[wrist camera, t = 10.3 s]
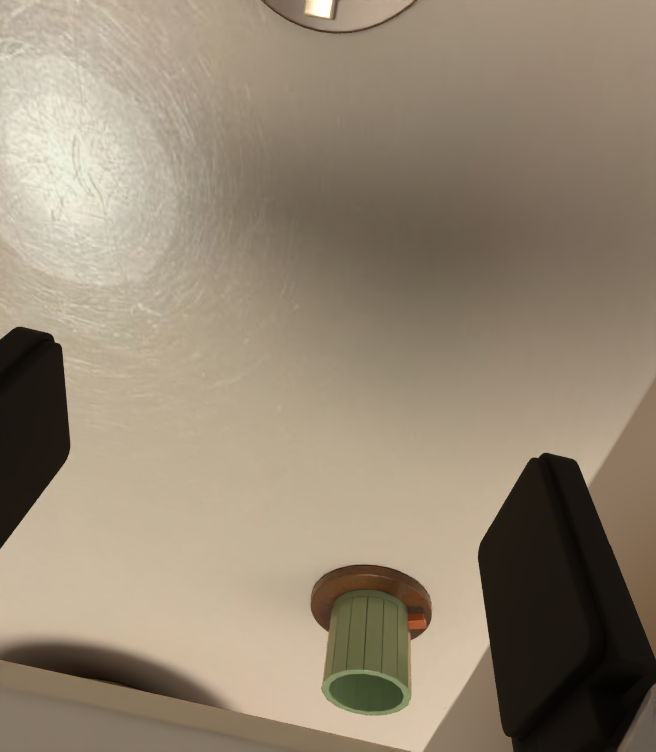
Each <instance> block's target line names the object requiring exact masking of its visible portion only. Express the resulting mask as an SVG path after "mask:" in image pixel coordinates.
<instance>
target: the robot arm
mask: <svg viewBox="0 0 656 752" xmlns="http://www.w3.org/2000/svg"><path fill="white" fill-rule="evenodd" d="M69 451H70V435H69V423H68V412H67V400H66V389H65V377H64V365H63V354H62V347H61V345H60V344H58V343H55V341H54V338H53V336H52V335H51V334H49V333H45V332H41V331H37V330H33V329H29V328H25V327H16V328H14V329H13V330H12V331H10V332H9V333H8V334H7V335H5V336H4V337H3V338H2V339H0V549H1V547H2V546H3V545H4V543H5V542H6V541H7V539H8V538H9V537H10V535H11V534H12V533H13V531H14V530H15V529H16V527H17V526H18V525H19V523H20V522H21V521H22V519H23V518H24V516H25V515H26V514H27V512H28V511H29V510H30V508H31V507H32V506H33V504H34V503H35V502H36V500H37V499H38V498H39V496H40V495H41V494H42V492H43V491H44V490H45V488H46V487H47V486H48V484H49V483H50V482H51V480H52V479H53V478H54V476H55V475H56V474H57V472H58V471H59V470H60V468H61V467H62V466H63V464H64V463H65V461H66V459H67V457H68V455H69ZM478 562H479V569H480V576H481V583H482V590H483V597H484V604H485V611H486V618H487V625H488V632H489V639H490V646H491V653H492V660H493V668H494V674H495V682H496V688H497V695H498V702H499V710H500V717H501V723H502V728H503V731H504V733H505V734H506V736H508V737H511V738H512V744H513V750H514V752H656V659H655V657H654V654H653V652H652V649H651V647H650V644H649V642H648V639H647V637H646V634H645V631H644V629H643V626H642V624H641V622H640V619H639V617H638V614H637V611H636V609H635V606H634V604H633V601H632V599H631V596H630V593H629V591H628V588H627V586H626V583H625V581H624V578H623V576H622V573H621V571H620V568H619V566H618V563H617V560H616V558H615V555H614V554H613V550H612V548H611V546H610V544H609V542H608V539H607V536H606V534H605V532H604V529H603V526H602V524H601V521H600V519H599V516H598V514H597V511H596V509H595V506H594V504H593V501H592V499H591V496H590V493H589V491H588V488H587V486H586V483H585V481H584V478H583V475H582V473H581V470H580V468H579V465H578V464H577V462H576V461H575V460H573V459H570V458H566V457H562V456H558V455H554V454H549V453H543V454H542V455H540V457H539V458H532V459H530V460H529V462H528V463H527V465H526V467H525V468H524V470H523V472H522V473H521V475H520V477H519V478H518V480H517V482H516V484H515V485H514V487H513V489H512V490H511V492H510V494H509V495H508V497H507V499H506V500H505V502H504V504H503V506H502V507H501V509H500V511H499V512H498V514H497V516H496V517H495V519H494V521H493V522H492V524H491V526H490V527H489V529H488V531H487V533H486V534H485V536H484V538H483V539H482V541H481V543H480V546H479V551H478ZM0 752H411V751H406V750H402V749H398V748H393V747H389V746H384V745H380V744H376V743H371V742H367V741H363V740H358V739H354V738H349V737H345V736H341V735H336V734H332V733H328V732H323V731H319V730H314V729H310V728H306V727H301V726H297V725H292V724H288V723H283V722H279V721H274V720H270V719H265V718H261V717H257V716H252V715H248V714H243V713H239V712H234V711H230V710H225V709H221V708H216V707H212V706H207V705H203V704H198V703H194V702H189V701H185V700H180V699H176V698H171V697H167V696H162V695H158V694H153V693H149V692H144V691H140V690H135V689H131V688H126V687H122V686H117V685H113V684H108V683H104V682H99V681H94V680H90V679H85V678H81V677H76V676H71V675H67V674H62V673H58V672H53V671H48V670H44V669H39V668H35V667H30V666H26V665H21V664H16V663H12V662H7V661H3V660H0Z"/></svg>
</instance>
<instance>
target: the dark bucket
mask: <svg viewBox="0 0 656 752" xmlns="http://www.w3.org/2000/svg"><path fill="white" fill-rule="evenodd" d="M334 6H335V0H305V3H304V15H306V16H311V17H316V18H322V19H327V20H331V19H332V18H333V13H334Z"/></svg>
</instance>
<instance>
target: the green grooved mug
mask: <svg viewBox="0 0 656 752" xmlns="http://www.w3.org/2000/svg"><path fill="white" fill-rule="evenodd" d="M423 628H426V620H425V617H424V614H423V613H419V614H409V610H408V608H407V607H406V605H405V604H404V603H403V602H402V601H401V600H400V599H398V598H397V597H395V596H393V595H391V594H388V593H386V592H382V591H378V590H371V589H360V590H353V591H350V592H346V593H344V594H342V595H341V596H339V597H338V598H337V599H336V600H335V601H334V603H333V605H332V609H331V616H330V624H329V632H328V640H327V649H326V657H325V665H324V674H323V682H322V692H323V694H324V695H325V697H326V699H327V700H328V701H330V702H331V703H332V704H334V705H335V706H338V707H339V708H341V709H344V710H346V711H349V712H352V713H357V714H362V715H387V714H391V713H395V712H398V711H400V710H402V709H403V708H405V707H406V706H407V705H408V704H409V701H410V699H411V636H410V629H423Z"/></svg>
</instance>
